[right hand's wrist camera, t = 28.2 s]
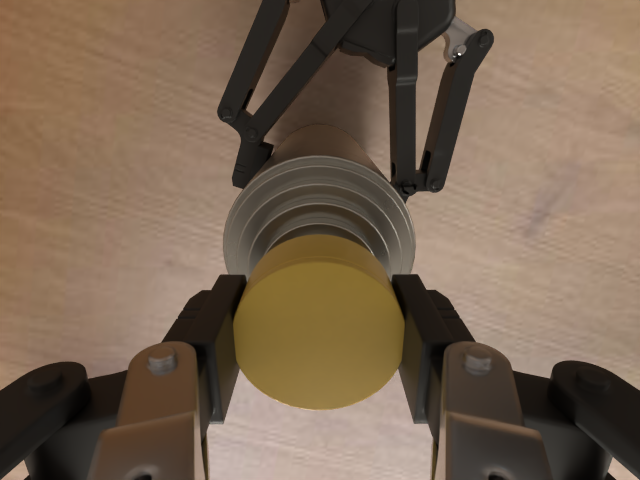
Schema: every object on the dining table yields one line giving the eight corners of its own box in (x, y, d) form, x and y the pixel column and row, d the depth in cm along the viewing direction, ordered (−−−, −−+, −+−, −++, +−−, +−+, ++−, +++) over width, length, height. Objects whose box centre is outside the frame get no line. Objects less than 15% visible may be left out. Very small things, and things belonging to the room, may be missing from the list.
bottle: (323, 234, 34) (330, 472, 13) (254, 177, 33) (120, 337, 11) (385, 168, 32) (522, 315, 10) (315, 102, 30) (302, 115, 9)
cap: (227, 339, 12) (210, 383, 10) (272, 211, 11) (261, 235, 9) (358, 380, 13) (364, 429, 11) (418, 264, 11) (437, 297, 9)
